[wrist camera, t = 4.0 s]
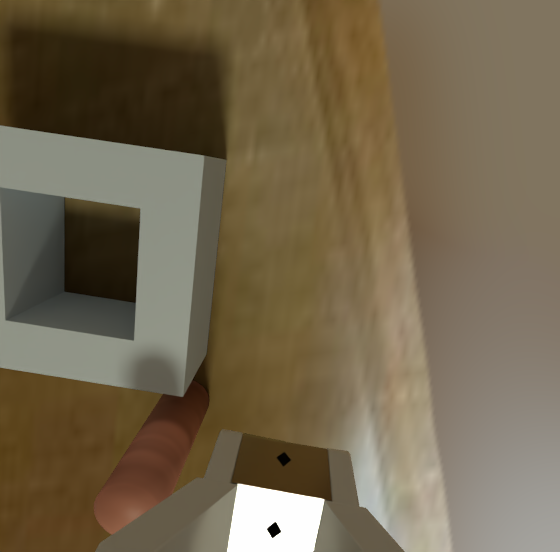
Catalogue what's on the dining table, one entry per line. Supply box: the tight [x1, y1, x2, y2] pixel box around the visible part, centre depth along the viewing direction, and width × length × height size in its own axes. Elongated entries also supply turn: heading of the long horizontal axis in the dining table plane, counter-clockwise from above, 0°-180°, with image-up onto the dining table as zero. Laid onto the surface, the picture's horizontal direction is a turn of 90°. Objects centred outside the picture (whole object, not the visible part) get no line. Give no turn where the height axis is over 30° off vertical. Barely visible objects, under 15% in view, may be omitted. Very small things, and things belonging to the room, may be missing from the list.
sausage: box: [94, 380, 209, 535], centre depth 22 cm, size 3×3×9 cm
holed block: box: [0, 126, 226, 397], centre depth 21 cm, size 12×12×5 cm
